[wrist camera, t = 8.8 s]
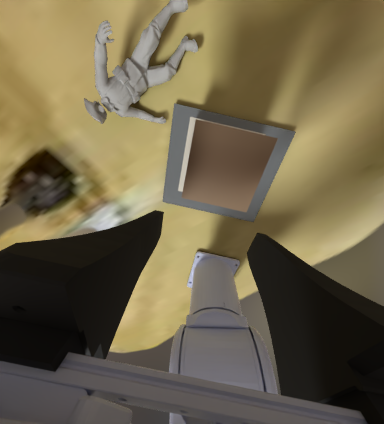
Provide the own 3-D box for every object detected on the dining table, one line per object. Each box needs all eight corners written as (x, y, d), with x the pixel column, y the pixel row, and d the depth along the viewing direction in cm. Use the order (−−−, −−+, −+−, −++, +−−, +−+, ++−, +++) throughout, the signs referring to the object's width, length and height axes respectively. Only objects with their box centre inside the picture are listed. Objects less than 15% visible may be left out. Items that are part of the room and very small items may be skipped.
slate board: (252, 220, 21) (253, 222, 20) (163, 200, 21) (162, 201, 20) (292, 132, 16) (295, 131, 15) (175, 104, 16) (174, 103, 15)
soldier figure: (208, 85, 15) (134, 159, 16) (184, 77, 18) (120, 142, 18) (178, -55, 9) (50, 81, 9) (145, -37, 11) (45, 71, 11)
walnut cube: (233, 192, 15) (246, 212, 10) (188, 182, 15) (181, 197, 10) (251, 142, 13) (277, 138, 8) (198, 129, 12) (195, 119, 8)
